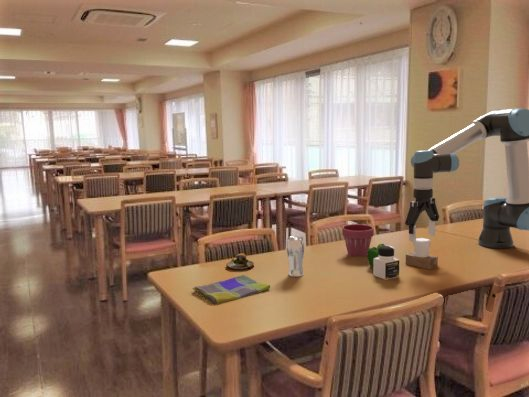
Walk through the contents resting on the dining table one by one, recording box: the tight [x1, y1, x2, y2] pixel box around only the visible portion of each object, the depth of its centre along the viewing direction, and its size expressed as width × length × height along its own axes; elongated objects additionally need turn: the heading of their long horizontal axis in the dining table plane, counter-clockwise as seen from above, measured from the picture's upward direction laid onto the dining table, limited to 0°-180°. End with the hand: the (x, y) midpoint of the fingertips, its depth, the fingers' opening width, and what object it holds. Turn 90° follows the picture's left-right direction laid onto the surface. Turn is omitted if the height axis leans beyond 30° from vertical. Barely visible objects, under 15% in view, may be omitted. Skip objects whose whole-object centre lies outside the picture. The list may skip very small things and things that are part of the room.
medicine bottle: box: [372, 244, 400, 281], centre depth 177 cm, size 7×7×12 cm
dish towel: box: [192, 274, 271, 305], centre depth 166 cm, size 18×24×3 cm
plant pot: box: [341, 223, 375, 258], centre depth 209 cm, size 14×14×13 cm
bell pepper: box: [367, 243, 385, 268], centre depth 189 cm, size 8×8×10 cm
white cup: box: [413, 237, 431, 257], centre depth 190 cm, size 7×7×7 cm
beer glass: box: [286, 236, 305, 278], centre depth 182 cm, size 7×7×15 cm
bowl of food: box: [226, 249, 255, 270], centre depth 195 cm, size 12×12×8 cm
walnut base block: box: [405, 251, 439, 270], centre depth 191 cm, size 6×11×4 cm, turn 37°
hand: (422, 238), depth 190 cm, fingers open, 13 cm apart
